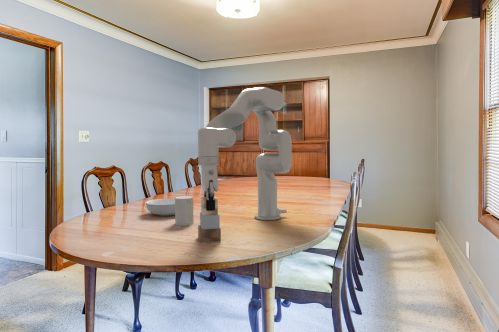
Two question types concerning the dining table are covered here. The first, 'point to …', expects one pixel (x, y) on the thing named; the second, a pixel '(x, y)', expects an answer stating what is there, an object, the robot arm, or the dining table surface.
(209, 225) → the grey block
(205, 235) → the walnut block
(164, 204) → the serving bowl
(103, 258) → the dining table surface
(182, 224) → the cup
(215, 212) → the maple cube
